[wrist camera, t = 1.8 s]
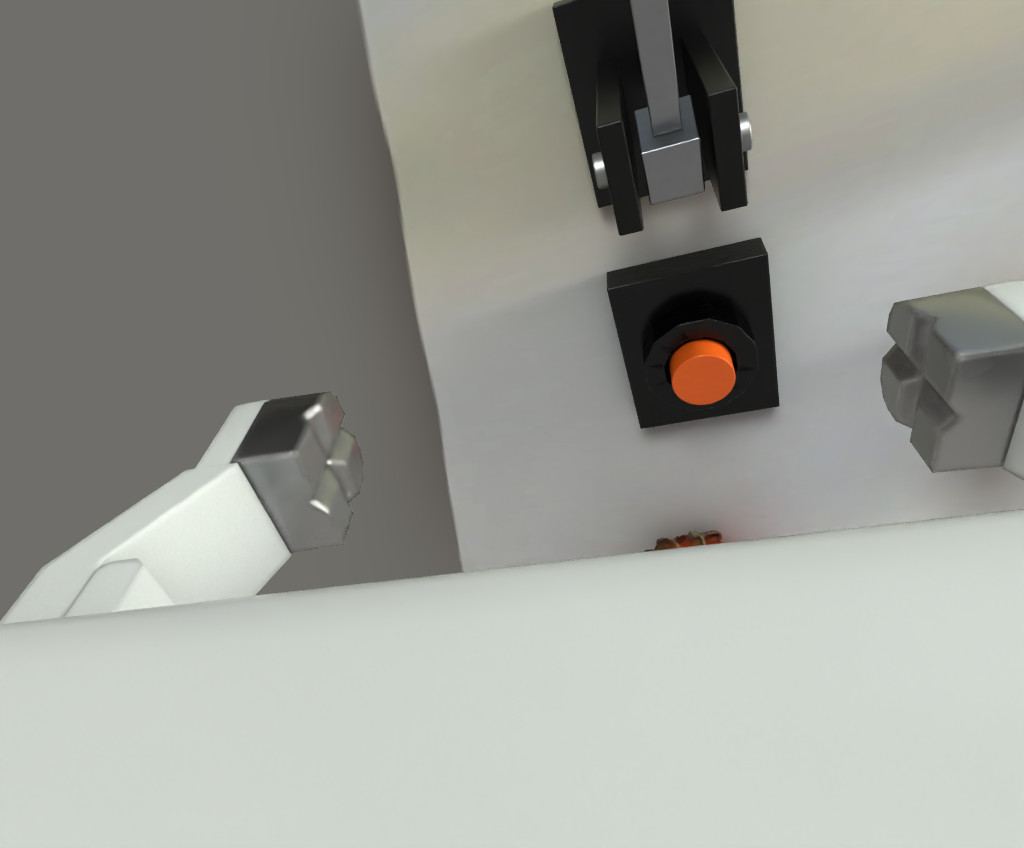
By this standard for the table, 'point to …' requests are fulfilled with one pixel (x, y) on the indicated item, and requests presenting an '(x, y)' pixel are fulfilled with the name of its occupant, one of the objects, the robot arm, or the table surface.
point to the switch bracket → (620, 91)
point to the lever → (664, 111)
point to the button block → (697, 327)
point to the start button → (702, 372)
